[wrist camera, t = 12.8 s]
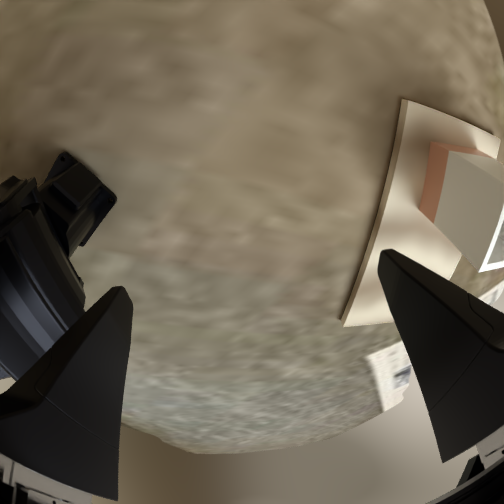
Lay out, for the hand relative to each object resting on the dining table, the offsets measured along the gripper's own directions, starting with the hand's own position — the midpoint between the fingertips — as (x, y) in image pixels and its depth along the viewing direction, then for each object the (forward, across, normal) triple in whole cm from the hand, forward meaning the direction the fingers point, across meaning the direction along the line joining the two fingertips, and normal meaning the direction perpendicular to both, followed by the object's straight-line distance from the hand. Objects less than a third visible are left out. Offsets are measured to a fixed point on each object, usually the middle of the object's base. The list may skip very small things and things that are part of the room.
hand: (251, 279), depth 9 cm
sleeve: (+12, -18, +2) cm, 22 cm away
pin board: (+13, -17, +9) cm, 23 cm away
